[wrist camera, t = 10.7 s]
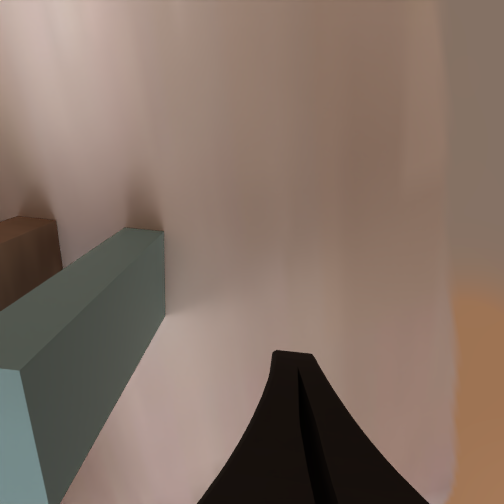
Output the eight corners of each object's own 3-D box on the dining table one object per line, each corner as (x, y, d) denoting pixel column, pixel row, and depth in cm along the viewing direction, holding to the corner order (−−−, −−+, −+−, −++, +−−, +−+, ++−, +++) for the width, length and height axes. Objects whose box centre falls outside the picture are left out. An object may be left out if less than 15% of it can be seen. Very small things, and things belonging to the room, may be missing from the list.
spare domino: (165, 316, 18) (51, 518, 9) (129, 312, 18) (-21, 509, 9) (164, 231, 16) (19, 370, 7) (124, 227, 16) (-73, 360, 7)
